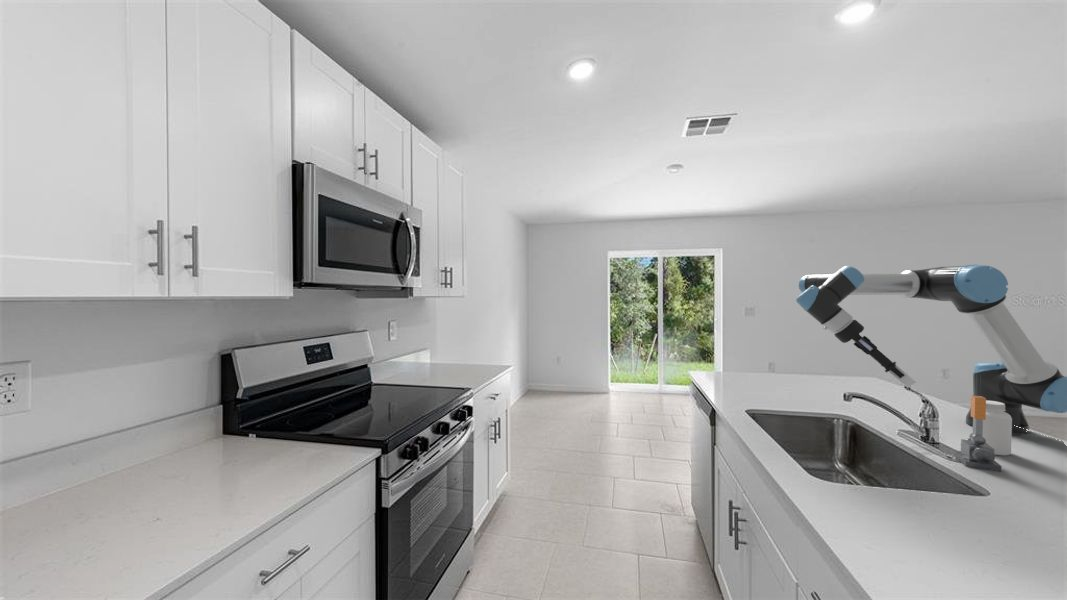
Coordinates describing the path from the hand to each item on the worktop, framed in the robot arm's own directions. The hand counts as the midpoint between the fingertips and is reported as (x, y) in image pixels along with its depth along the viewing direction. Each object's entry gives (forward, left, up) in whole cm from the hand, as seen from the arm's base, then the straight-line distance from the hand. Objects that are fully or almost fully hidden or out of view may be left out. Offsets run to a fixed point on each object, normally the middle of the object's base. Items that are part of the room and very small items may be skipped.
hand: (911, 384), depth 126 cm
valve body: (-15, 0, -21) cm, 26 cm away
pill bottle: (-22, -15, -21) cm, 34 cm away
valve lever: (-15, 0, -15) cm, 21 cm away
